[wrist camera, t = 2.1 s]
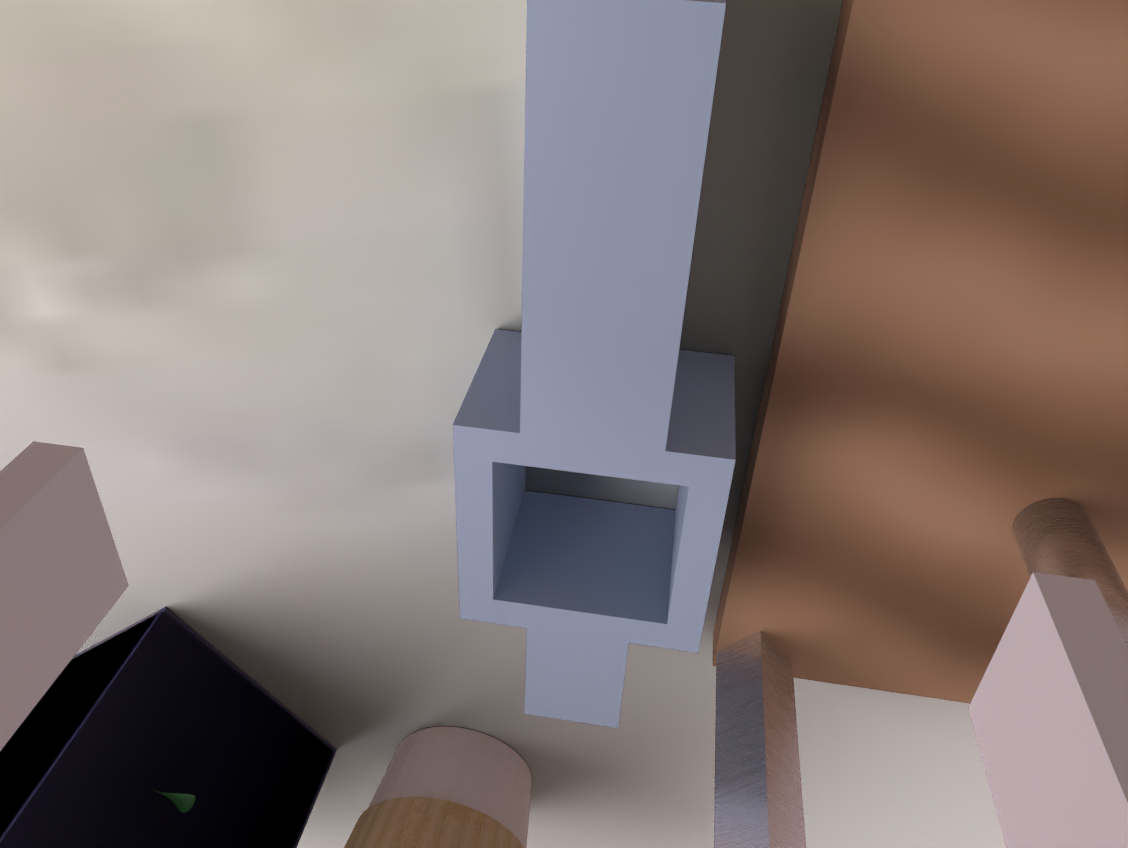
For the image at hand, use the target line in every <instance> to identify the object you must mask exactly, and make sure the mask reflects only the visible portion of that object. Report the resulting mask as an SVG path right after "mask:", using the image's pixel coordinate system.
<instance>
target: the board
mask: <svg viewBox="0 0 1128 848" xmlns="http://www.w3.org/2000/svg"><path fill="white" fill-rule="evenodd" d="M1048 498H1065V499H1070V500H1073V501H1075V502H1077V503H1079V504H1081V505H1082V506H1083V507H1084V508H1085V509H1086V511H1087V512H1088V514H1089V516H1090V518H1091V520H1092V522H1093V524H1094V526H1095V528H1096V530H1097V532H1098V534H1099V536H1100V538H1101V540H1102V542H1103V544H1104V546H1105V548H1106V549H1107V551H1108V553H1109V555H1110V557H1111V559H1112V561H1113V563H1114V565H1115V567H1116V569H1117V571H1118V573H1119V575H1120V577H1121V579H1122V581H1123V583H1124V585H1125V587H1126V589H1127V591H1128V0H843V4H842V9H841V14H840V18H839V23H838V28H837V33H836V38H835V43H834V48H833V52H832V57H831V62H830V67H829V72H828V77H827V82H826V87H825V91H824V96H823V101H822V106H821V111H820V116H819V121H818V126H817V130H816V135H815V140H814V145H813V150H812V155H811V160H810V164H809V169H808V174H807V179H806V184H805V189H804V194H803V199H802V203H801V208H800V213H799V218H798V223H797V228H796V233H795V238H794V242H793V247H792V252H791V257H790V262H789V267H788V272H787V276H786V281H785V286H784V291H783V296H782V301H781V306H780V311H779V315H778V320H777V325H776V330H775V335H774V340H773V345H772V350H771V354H770V359H769V364H768V369H767V374H766V379H765V384H764V388H763V393H762V398H761V403H760V408H759V413H758V418H757V423H756V427H755V432H754V437H753V442H752V447H751V452H750V457H749V462H748V466H747V471H746V476H745V481H744V486H743V491H742V496H741V500H740V505H739V510H738V515H737V520H736V525H735V530H734V535H733V539H732V544H731V549H730V554H729V559H728V564H727V569H726V574H725V578H724V583H723V588H722V593H721V598H720V603H719V608H718V612H717V617H716V622H715V627H714V632H713V666H716V652H717V650H719V649H721V648H723V647H725V646H727V645H730V644H732V643H734V642H736V641H738V640H741V639H743V638H745V637H747V636H749V635H752V634H754V633H756V632H758V631H761V632H762V633H763V634H765V635H766V636H767V637H768V638H769V639H770V640H771V641H772V642H773V643H774V644H775V645H776V646H777V647H778V648H779V649H780V650H781V651H782V652H783V653H784V654H785V655H786V656H787V657H788V658H789V659H790V660H791V661H792V670H793V677H794V678H801V679H807V680H814V681H821V682H828V683H835V684H842V685H848V686H855V687H862V688H869V689H876V690H883V691H889V692H896V693H903V694H910V695H917V696H924V697H930V698H937V699H944V700H951V701H958V702H965V703H971V701H972V699H973V697H974V695H975V693H976V691H977V689H978V686H979V684H980V682H981V680H982V678H983V676H984V674H985V672H986V670H987V668H988V666H989V663H990V661H991V659H992V657H993V655H994V653H995V651H996V649H997V647H998V645H999V642H1000V640H1001V638H1002V636H1003V634H1004V632H1005V630H1006V628H1007V626H1008V624H1009V621H1010V619H1011V617H1012V615H1013V613H1014V611H1015V609H1016V607H1017V605H1018V603H1019V601H1020V598H1021V596H1022V594H1023V592H1024V590H1025V588H1026V586H1027V584H1028V582H1029V580H1030V576H1029V573H1028V571H1027V568H1026V566H1025V563H1024V560H1023V558H1022V555H1021V553H1020V550H1019V548H1018V545H1017V543H1016V540H1015V538H1014V535H1013V531H1012V526H1013V522H1014V520H1015V518H1016V516H1017V515H1018V514H1019V513H1020V512H1021V511H1022V510H1023V509H1024V508H1025V507H1027V506H1028V505H1030V504H1032V503H1034V502H1037V501H1040V500H1043V499H1048Z"/></svg>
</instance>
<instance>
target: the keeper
mask: <svg viewBox="0 0 1128 848" xmlns="http://www.w3.org/2000/svg"><path fill="white" fill-rule="evenodd" d="M714 848H806V840H805V827H804V814H803V801H802V788H801V774H800V761H799V748H798V735H797V722H796V709H795V696H794V683H793V670H792V661H791V660H790V659H789V658H788V657H787V656H786V655H785V654H784V653H783V652H782V651H781V650H780V649H779V648H778V647H777V646H776V645H775V644H774V643H773V642H772V641H771V640H770V639H769V638H768V637H767V636H766V635H765V634H763V633H762V632H761V631H758V632H756V633H754V634H752V635H749V636H747V637H745V638H743V639H741V640H738V641H736V642H734V643H732V644H730V645H727V646H725V647H723V648H721V649H719V650H717V652H716V734H715V817H714Z"/></svg>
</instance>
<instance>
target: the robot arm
mask: <svg viewBox="0 0 1128 848" xmlns="http://www.w3.org/2000/svg"><path fill="white" fill-rule="evenodd" d="M128 586H129V585H128V582H127V579H126V576H125V573H124V570H123V567H122V564H121V561H120V558H119V555H118V552H117V549H116V546H115V543H114V540H113V537H112V534H111V531H110V528H109V525H108V522H107V519H106V516H105V513H104V510H103V507H102V504H101V501H100V498H99V495H98V492H97V489H96V486H95V483H94V480H93V477H92V474H91V471H90V467H89V464H88V461H87V458H86V455H85V452H84V449H83V448H79V447H71V446H64V445H56V444H48V443H41V442H32V443H31V444H30V445H29V446H28V447H27V448H26V449H25V450H24V451H22V452H21V453H20V454H19V455H18V456H17V457H16V458H15V459H14V460H12V461H11V462H10V463H9V464H8V465H7V466H6V467H5V468H4V469H3V470H1V471H0V751H1V750H2V748H3V747H4V746H5V744H6V743H7V742H8V740H9V739H10V738H11V737H12V735H13V734H14V733H15V731H16V730H17V729H18V728H19V726H20V725H21V724H22V722H23V721H24V720H25V719H26V717H27V716H28V715H29V713H30V712H31V711H32V710H33V708H34V707H35V706H36V704H37V703H38V702H39V700H40V699H41V698H42V697H43V695H44V694H45V693H46V691H47V690H48V689H49V688H50V686H51V685H52V684H53V682H54V681H55V680H56V679H57V677H58V676H59V675H60V673H61V672H62V671H63V670H64V668H65V667H66V666H67V664H68V663H69V662H70V660H71V659H72V658H73V657H74V655H75V654H76V653H77V651H78V650H79V649H80V648H81V646H82V645H83V644H84V642H85V641H86V640H87V639H88V637H89V636H90V635H91V633H92V632H93V631H94V630H95V628H96V627H97V626H98V624H99V623H100V622H101V620H102V619H103V618H104V617H105V615H106V614H107V613H108V611H109V610H110V609H111V608H112V606H113V605H114V604H115V602H116V601H117V600H118V599H119V597H120V596H121V595H122V593H123V592H124V591H125V590H126V588H127V587H128ZM968 709H969V713H970V716H971V720H972V724H973V727H974V731H975V735H976V738H977V742H978V746H979V749H980V753H981V756H982V760H983V764H984V767H985V771H986V775H987V778H988V782H989V786H990V789H991V793H992V797H993V800H994V804H995V808H996V811H997V815H998V819H999V822H1000V826H1001V829H1002V833H1003V837H1004V840H1005V844H1006V848H1128V647H1127V645H1126V643H1125V641H1124V639H1123V637H1122V635H1121V633H1120V631H1119V628H1118V626H1117V624H1116V622H1115V620H1114V618H1113V616H1112V614H1111V612H1110V610H1109V608H1108V606H1107V604H1106V602H1105V600H1104V598H1103V596H1102V594H1101V591H1100V589H1099V587H1098V585H1097V583H1096V581H1095V580H1090V579H1082V578H1074V577H1067V576H1059V575H1051V574H1044V573H1036V572H1033V573H1032V575H1031V577H1030V580H1029V582H1028V584H1027V586H1026V588H1025V590H1024V592H1023V594H1022V596H1021V598H1020V601H1019V603H1018V605H1017V607H1016V609H1015V611H1014V613H1013V615H1012V617H1011V619H1010V621H1009V624H1008V626H1007V628H1006V630H1005V632H1004V634H1003V636H1002V638H1001V640H1000V642H999V645H998V647H997V649H996V651H995V653H994V655H993V657H992V659H991V661H990V663H989V666H988V668H987V670H986V672H985V674H984V676H983V678H982V680H981V682H980V684H979V686H978V689H977V691H976V693H975V695H974V697H973V699H972V701H971V703H970V705H969V707H968Z"/></svg>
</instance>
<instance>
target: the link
mask: <svg viewBox="0 0 1128 848" xmlns="http://www.w3.org/2000/svg"><path fill="white" fill-rule="evenodd" d="M725 8H726V0H527V41H526V101H525V160H524V219H523V279H522V332H518V331H509V330H500V329H495V331H494V333H493V335H492V338H491V340H490V342H489V345H488V347H487V349H486V351H485V354H484V356H483V358H482V360H481V363H480V365H479V367H478V369H477V372H476V374H475V376H474V378H473V381H472V383H471V385H470V387H469V390H468V392H467V394H466V396H465V399H464V401H463V403H462V405H461V408H460V410H459V412H458V414H457V417H456V419H455V421H454V423H453V443H454V470H455V497H456V524H457V551H458V579H459V606H460V619H467V620H473V621H480V622H487V623H494V624H501V625H508V626H515V627H522V628H527V636H526V674H525V712H524V714H528V715H534V716H541V717H547V718H554V719H560V720H567V721H573V722H579V723H586V724H592V725H599V726H605V727H612V728H618V725H619V717H620V709H621V701H622V693H623V685H624V677H625V669H626V661H627V653H628V645H629V643H632V644H639V645H646V646H652V647H659V648H666V649H673V650H680V651H687V652H694V653H698V651H699V646H700V641H701V635H702V630H703V625H704V620H705V615H706V610H707V605H708V599H709V594H710V589H711V584H712V579H713V574H714V569H715V563H716V558H717V553H718V548H719V543H720V538H721V533H722V527H723V522H724V517H725V512H726V507H727V502H728V497H729V491H730V486H731V481H732V476H733V471H734V466H735V461H736V449H735V376H734V356H732V355H723V354H714V353H705V352H696V351H687V350H679V347H680V339H681V332H682V325H683V317H684V310H685V302H686V295H687V288H688V280H689V273H690V266H691V258H692V251H693V244H694V236H695V229H696V221H697V214H698V207H699V199H700V192H701V185H702V177H703V170H704V162H705V155H706V148H707V140H708V133H709V126H710V118H711V111H712V104H713V96H714V89H715V81H716V74H717V67H718V59H719V52H720V45H721V37H722V30H723V23H724V15H725ZM526 466H530V467H538V468H546V469H554V470H562V471H569V472H577V473H585V474H593V475H601V476H609V477H617V478H625V479H632V480H640V481H648V482H656V483H664V484H672V485H679V489H678V496H677V503H676V509H675V510H672V509H664V508H657V507H649V506H641V505H633V504H626V503H618V502H610V501H603V500H595V499H587V498H580V497H572V496H564V495H556V494H549V493H541V492H533V491H526V490H525V479H526Z"/></svg>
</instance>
